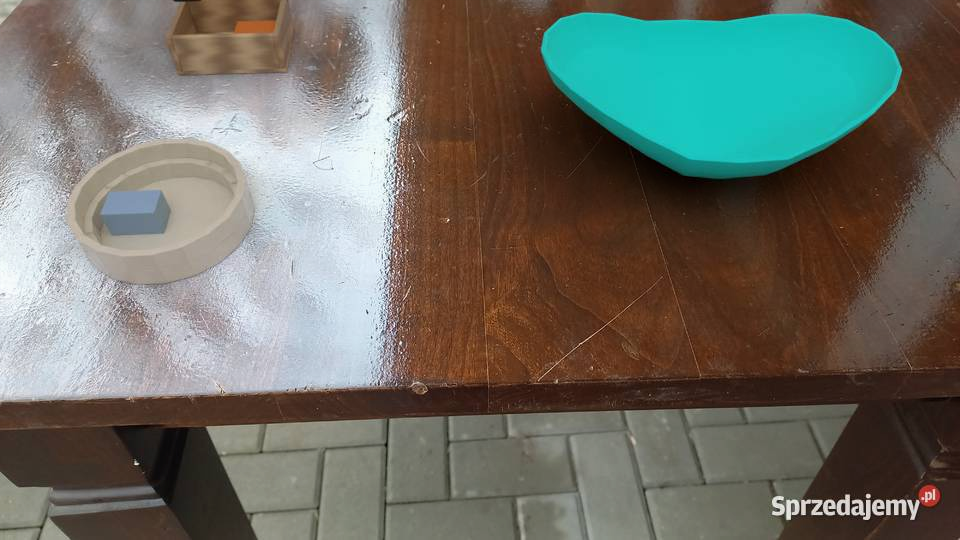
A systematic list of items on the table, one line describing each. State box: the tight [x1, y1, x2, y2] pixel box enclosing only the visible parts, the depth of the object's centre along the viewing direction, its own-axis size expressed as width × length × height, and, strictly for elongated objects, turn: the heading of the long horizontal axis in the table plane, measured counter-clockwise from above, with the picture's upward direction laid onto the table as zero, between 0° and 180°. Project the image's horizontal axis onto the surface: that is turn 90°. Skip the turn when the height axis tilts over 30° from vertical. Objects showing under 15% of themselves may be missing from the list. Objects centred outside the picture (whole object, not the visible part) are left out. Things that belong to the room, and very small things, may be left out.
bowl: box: [66, 138, 256, 286], centre depth 74 cm, size 18×18×5 cm
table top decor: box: [540, 12, 903, 180], centre depth 82 cm, size 40×28×13 cm
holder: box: [164, 0, 296, 76], centre depth 96 cm, size 15×11×6 cm
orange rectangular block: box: [234, 20, 276, 34], centre depth 96 cm, size 6×4×3 cm, turn 94°
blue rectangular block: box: [100, 190, 171, 235], centre depth 74 cm, size 6×4×3 cm, turn 94°
